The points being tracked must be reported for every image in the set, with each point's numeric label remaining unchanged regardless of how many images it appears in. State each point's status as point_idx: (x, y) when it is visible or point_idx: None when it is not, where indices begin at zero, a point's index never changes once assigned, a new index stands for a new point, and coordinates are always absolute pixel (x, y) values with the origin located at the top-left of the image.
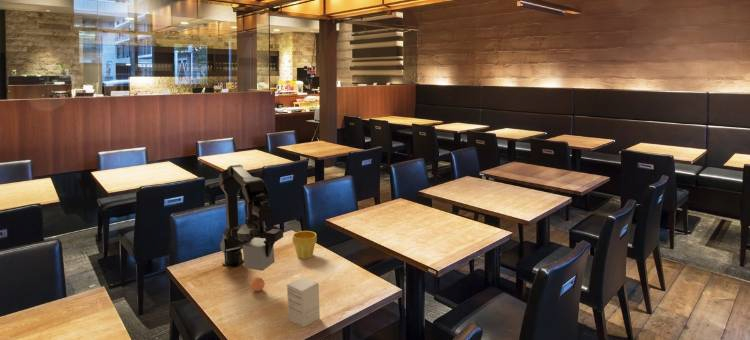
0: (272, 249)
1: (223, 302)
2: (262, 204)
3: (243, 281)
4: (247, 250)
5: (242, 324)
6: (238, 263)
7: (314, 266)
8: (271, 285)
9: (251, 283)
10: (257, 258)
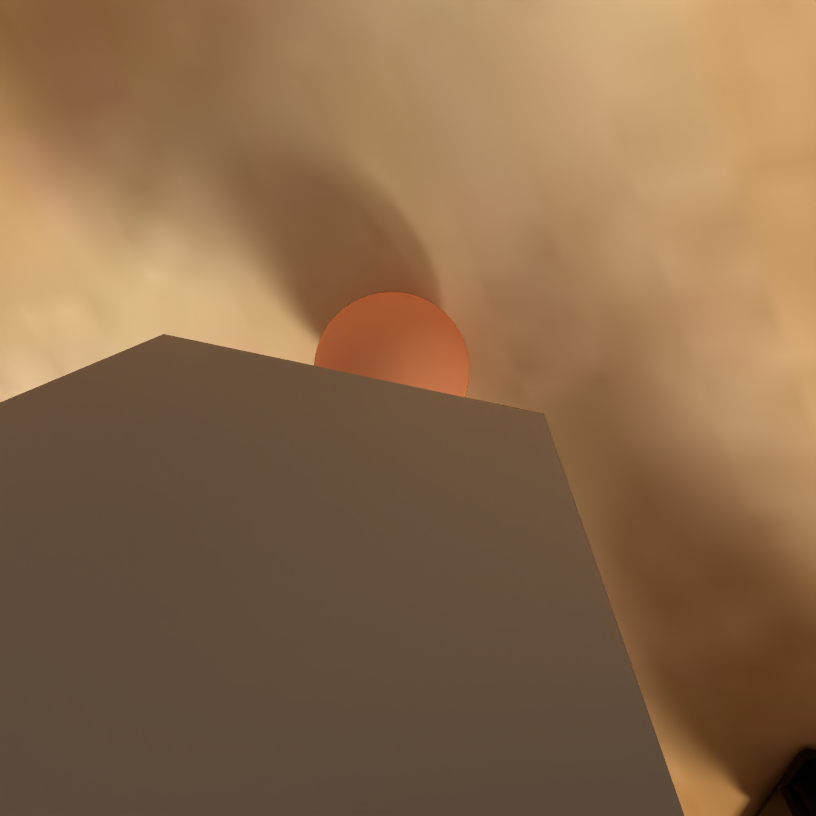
0: None
1: (688, 5)
2: None
3: (623, 511)
4: (407, 673)
5: None
6: (784, 792)
7: None
8: None
9: (439, 329)
10: (113, 439)
